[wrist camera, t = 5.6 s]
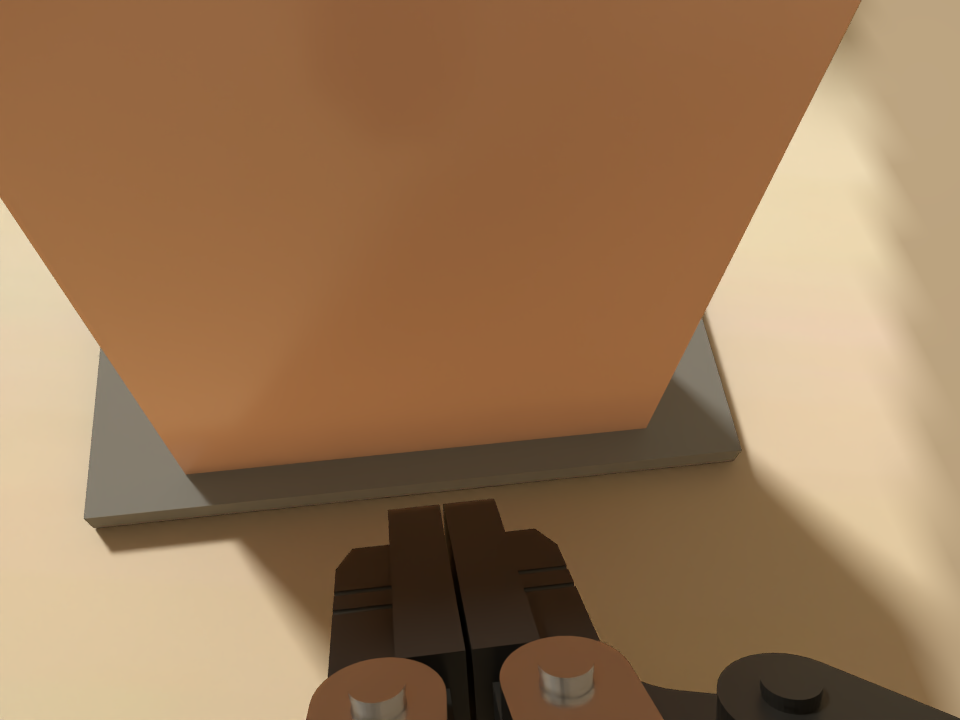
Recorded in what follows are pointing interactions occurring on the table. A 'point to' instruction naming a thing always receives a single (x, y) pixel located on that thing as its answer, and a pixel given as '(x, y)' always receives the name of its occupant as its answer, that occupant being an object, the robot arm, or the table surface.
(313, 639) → the table surface
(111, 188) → the tile
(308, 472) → the mat
